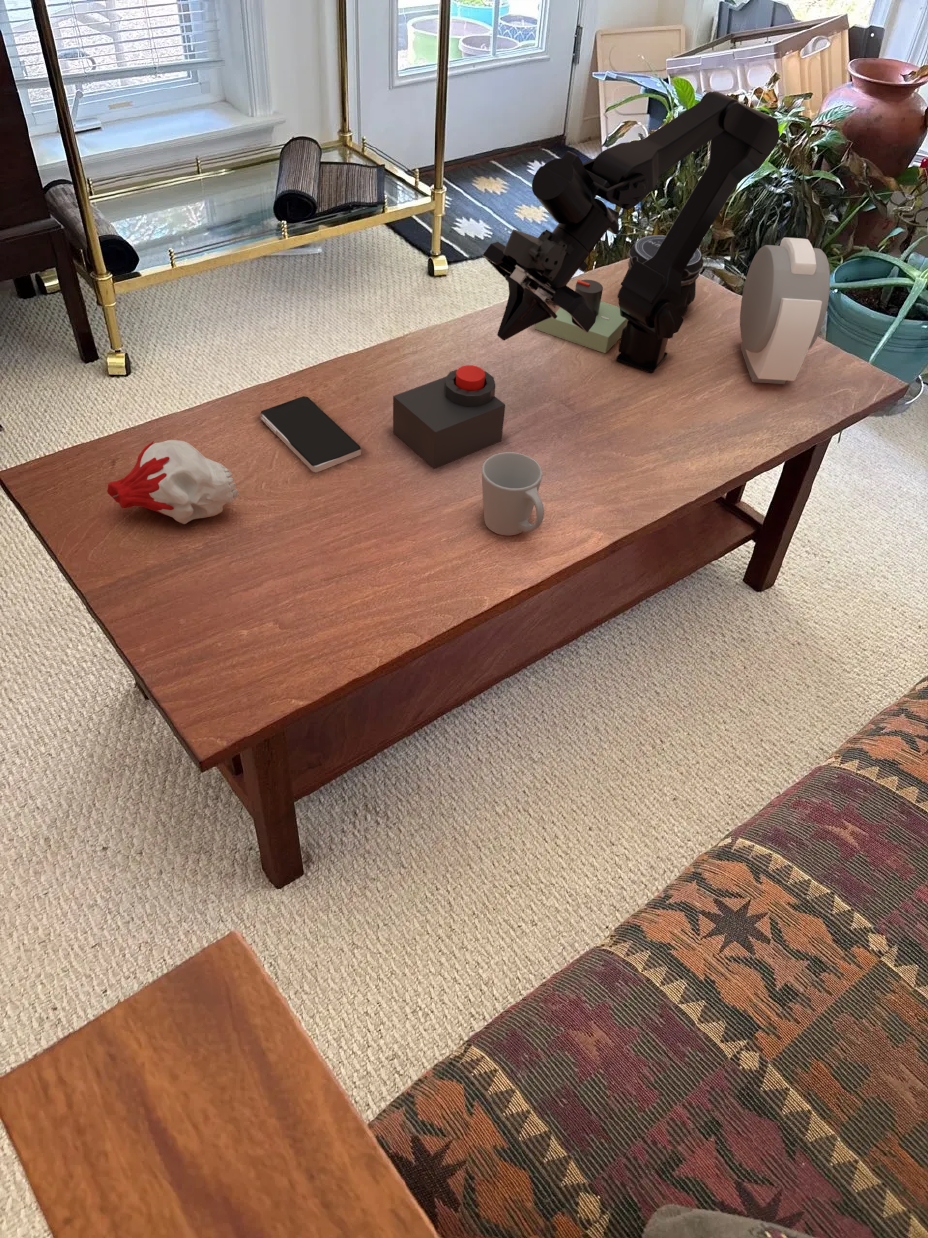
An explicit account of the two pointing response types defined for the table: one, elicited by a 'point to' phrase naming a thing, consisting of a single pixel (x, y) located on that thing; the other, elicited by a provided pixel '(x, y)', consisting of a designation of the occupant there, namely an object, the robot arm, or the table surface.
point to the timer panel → (597, 337)
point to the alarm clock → (783, 308)
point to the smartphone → (310, 433)
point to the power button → (470, 378)
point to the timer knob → (590, 292)
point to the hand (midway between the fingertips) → (500, 337)
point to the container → (647, 250)
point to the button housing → (448, 419)
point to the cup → (511, 493)
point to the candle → (175, 482)
